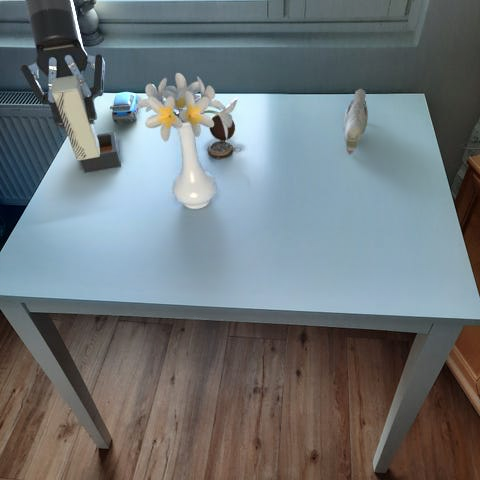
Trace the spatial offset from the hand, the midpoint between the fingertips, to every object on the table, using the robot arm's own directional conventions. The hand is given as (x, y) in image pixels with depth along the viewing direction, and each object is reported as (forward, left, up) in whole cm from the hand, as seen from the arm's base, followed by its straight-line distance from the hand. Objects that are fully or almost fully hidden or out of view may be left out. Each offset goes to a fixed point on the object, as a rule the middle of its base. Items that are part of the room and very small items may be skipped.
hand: (77, 124), depth 81 cm
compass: (+28, +18, -22) cm, 40 cm away
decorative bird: (+59, +15, -22) cm, 65 cm away
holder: (-1, +23, -22) cm, 32 cm away
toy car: (+7, +42, -22) cm, 48 cm away
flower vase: (+19, +2, -22) cm, 29 cm away
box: (0, +2, -7) cm, 7 cm away
